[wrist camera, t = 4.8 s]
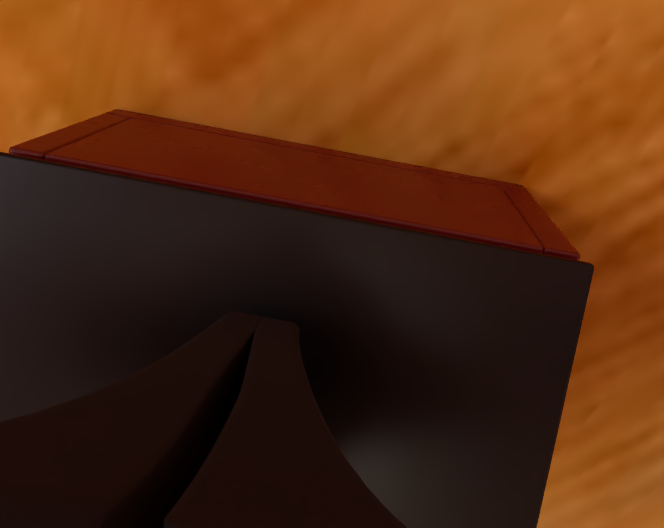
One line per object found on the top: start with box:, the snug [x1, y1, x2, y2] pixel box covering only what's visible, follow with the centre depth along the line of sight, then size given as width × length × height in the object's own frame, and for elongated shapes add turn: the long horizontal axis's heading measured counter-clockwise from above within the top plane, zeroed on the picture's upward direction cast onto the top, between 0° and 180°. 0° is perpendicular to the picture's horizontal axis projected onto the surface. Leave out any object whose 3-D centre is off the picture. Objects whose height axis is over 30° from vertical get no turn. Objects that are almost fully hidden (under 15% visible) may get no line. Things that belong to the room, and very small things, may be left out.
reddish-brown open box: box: [9, 109, 580, 261], centre depth 18 cm, size 11×13×6 cm
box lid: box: [0, 152, 594, 528], centre depth 13 cm, size 11×13×1 cm
